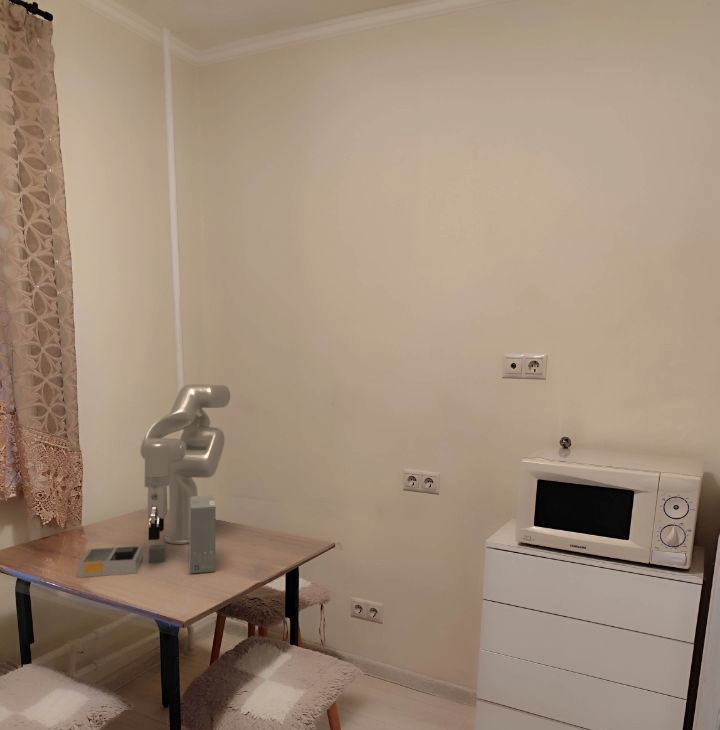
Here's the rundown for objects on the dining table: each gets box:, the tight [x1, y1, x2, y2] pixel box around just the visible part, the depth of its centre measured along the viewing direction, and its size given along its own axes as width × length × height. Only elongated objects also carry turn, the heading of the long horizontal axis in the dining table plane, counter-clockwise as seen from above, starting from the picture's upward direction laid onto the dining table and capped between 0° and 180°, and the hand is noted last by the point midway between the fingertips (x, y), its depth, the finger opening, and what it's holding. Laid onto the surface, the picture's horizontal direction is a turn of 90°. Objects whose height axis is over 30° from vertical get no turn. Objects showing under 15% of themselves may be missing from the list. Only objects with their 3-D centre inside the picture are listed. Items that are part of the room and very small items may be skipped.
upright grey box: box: [148, 543, 167, 564], centre depth 183 cm, size 5×4×4 cm
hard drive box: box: [188, 494, 216, 574], centre depth 180 cm, size 16×8×20 cm, turn 17°
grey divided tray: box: [77, 545, 144, 578], centre depth 177 cm, size 16×13×5 cm
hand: (156, 535), depth 182 cm, fingers open, 9 cm apart
